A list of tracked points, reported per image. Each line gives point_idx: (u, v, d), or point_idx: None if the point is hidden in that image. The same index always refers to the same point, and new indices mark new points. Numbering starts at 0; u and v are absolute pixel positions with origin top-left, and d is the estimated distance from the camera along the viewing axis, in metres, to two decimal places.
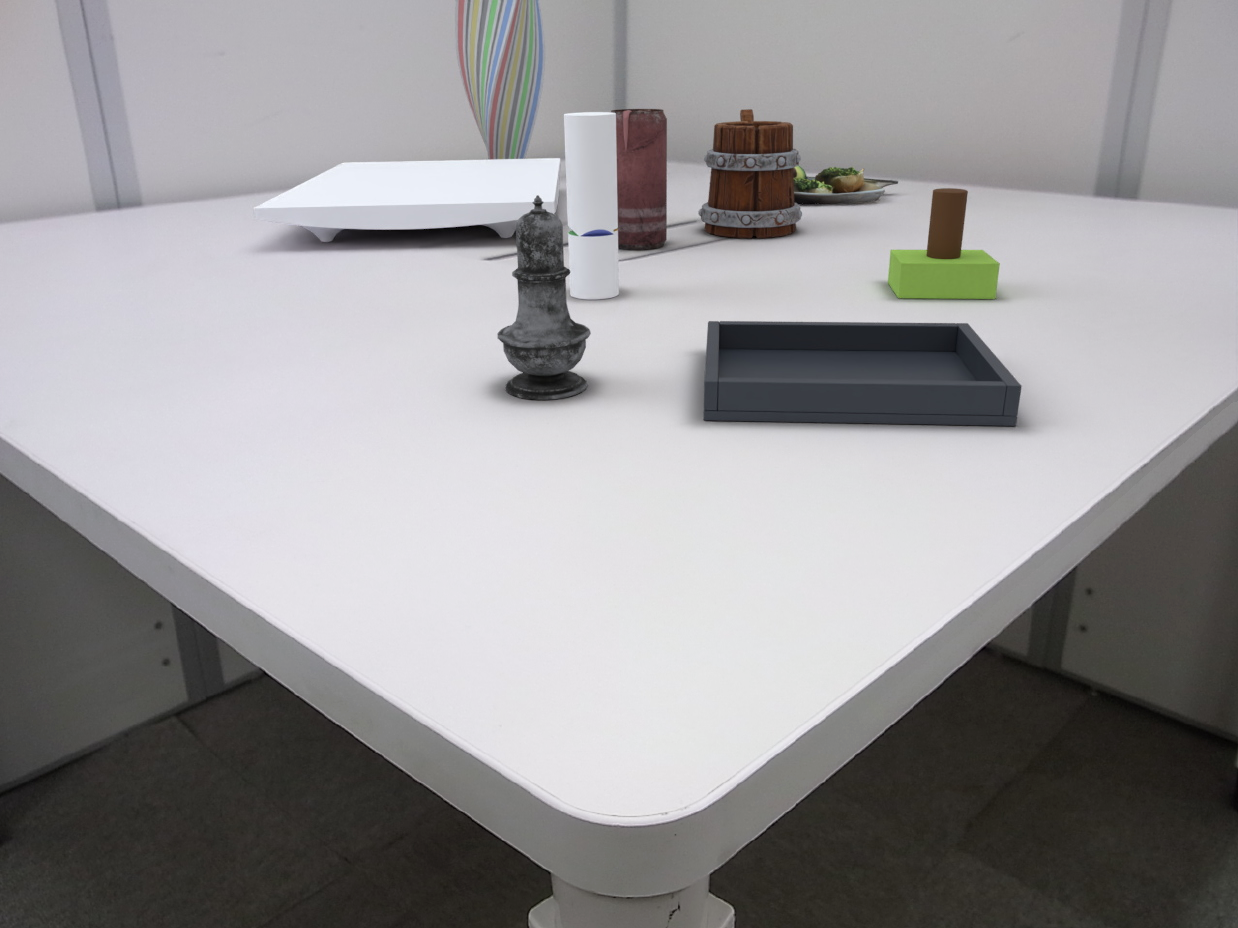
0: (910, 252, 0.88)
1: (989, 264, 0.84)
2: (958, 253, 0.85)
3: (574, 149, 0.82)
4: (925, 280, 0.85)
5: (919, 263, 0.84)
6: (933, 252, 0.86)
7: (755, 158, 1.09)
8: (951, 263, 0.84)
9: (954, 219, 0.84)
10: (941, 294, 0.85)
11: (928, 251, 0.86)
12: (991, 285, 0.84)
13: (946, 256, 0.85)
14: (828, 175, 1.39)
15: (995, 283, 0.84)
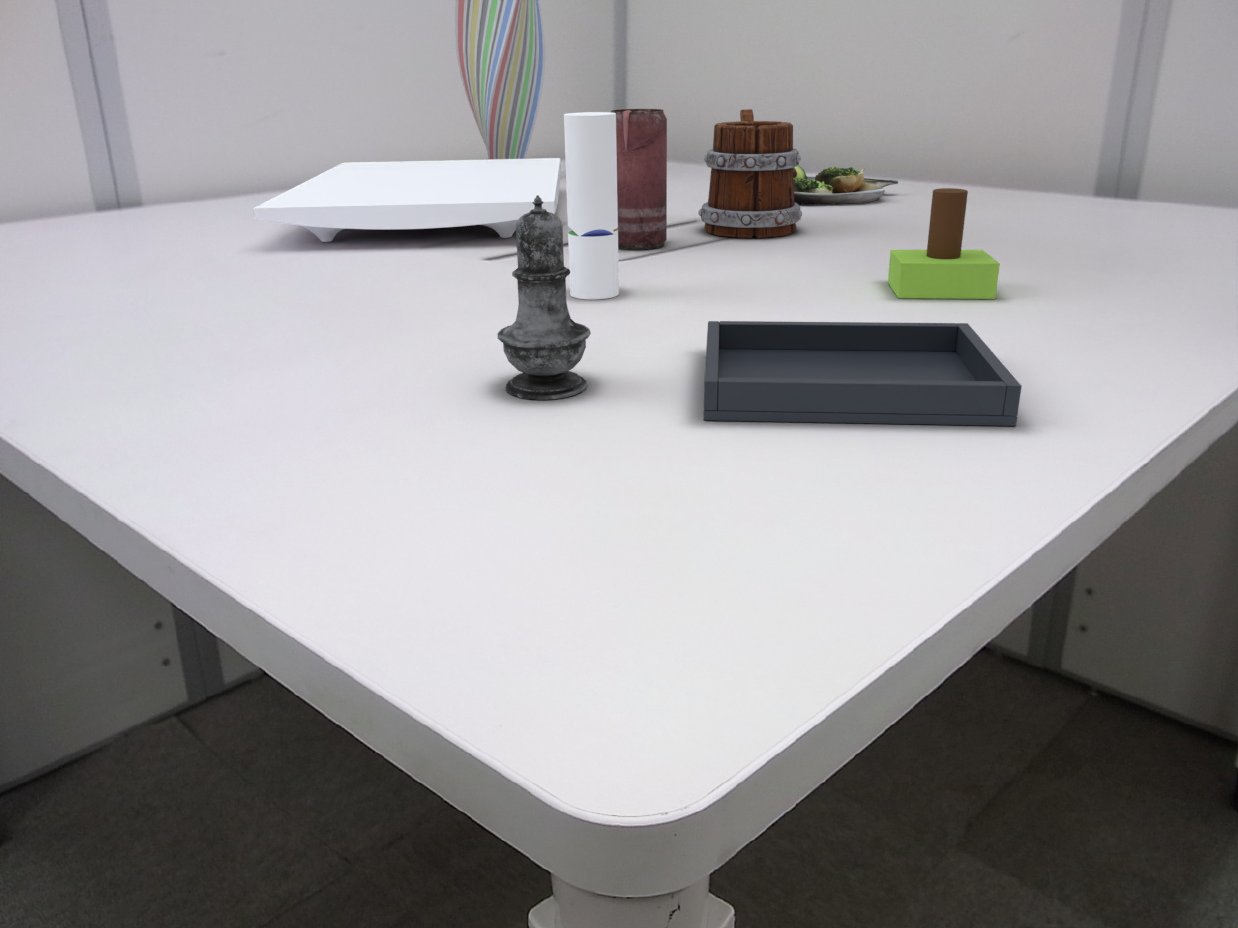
0: (910, 252, 0.88)
1: (989, 264, 0.84)
2: (958, 253, 0.85)
3: (574, 149, 0.82)
4: (925, 280, 0.85)
5: (919, 263, 0.84)
6: (933, 252, 0.86)
7: (755, 158, 1.09)
8: (951, 263, 0.84)
9: (954, 219, 0.84)
10: (941, 294, 0.85)
11: (928, 251, 0.86)
12: (991, 285, 0.84)
13: (946, 256, 0.85)
14: (828, 175, 1.39)
15: (995, 283, 0.84)
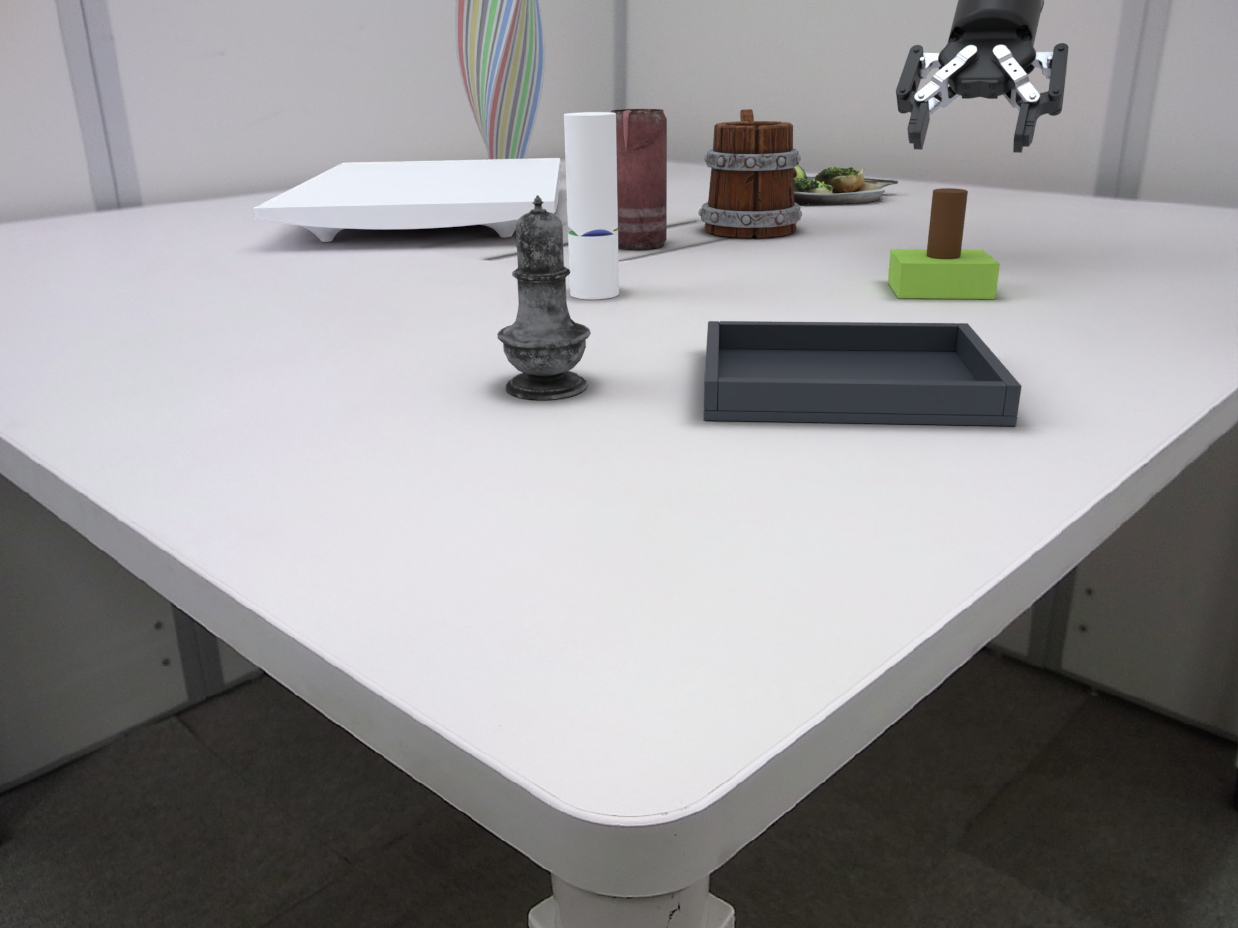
0: (910, 252, 0.88)
1: (989, 264, 0.84)
2: (958, 253, 0.85)
3: (574, 149, 0.82)
4: (925, 280, 0.85)
5: (919, 263, 0.84)
6: (933, 252, 0.86)
7: (755, 158, 1.09)
8: (951, 263, 0.84)
9: (954, 219, 0.84)
10: (941, 294, 0.85)
11: (928, 251, 0.86)
12: (991, 285, 0.84)
13: (946, 256, 0.85)
14: (829, 175, 1.39)
15: (995, 283, 0.84)
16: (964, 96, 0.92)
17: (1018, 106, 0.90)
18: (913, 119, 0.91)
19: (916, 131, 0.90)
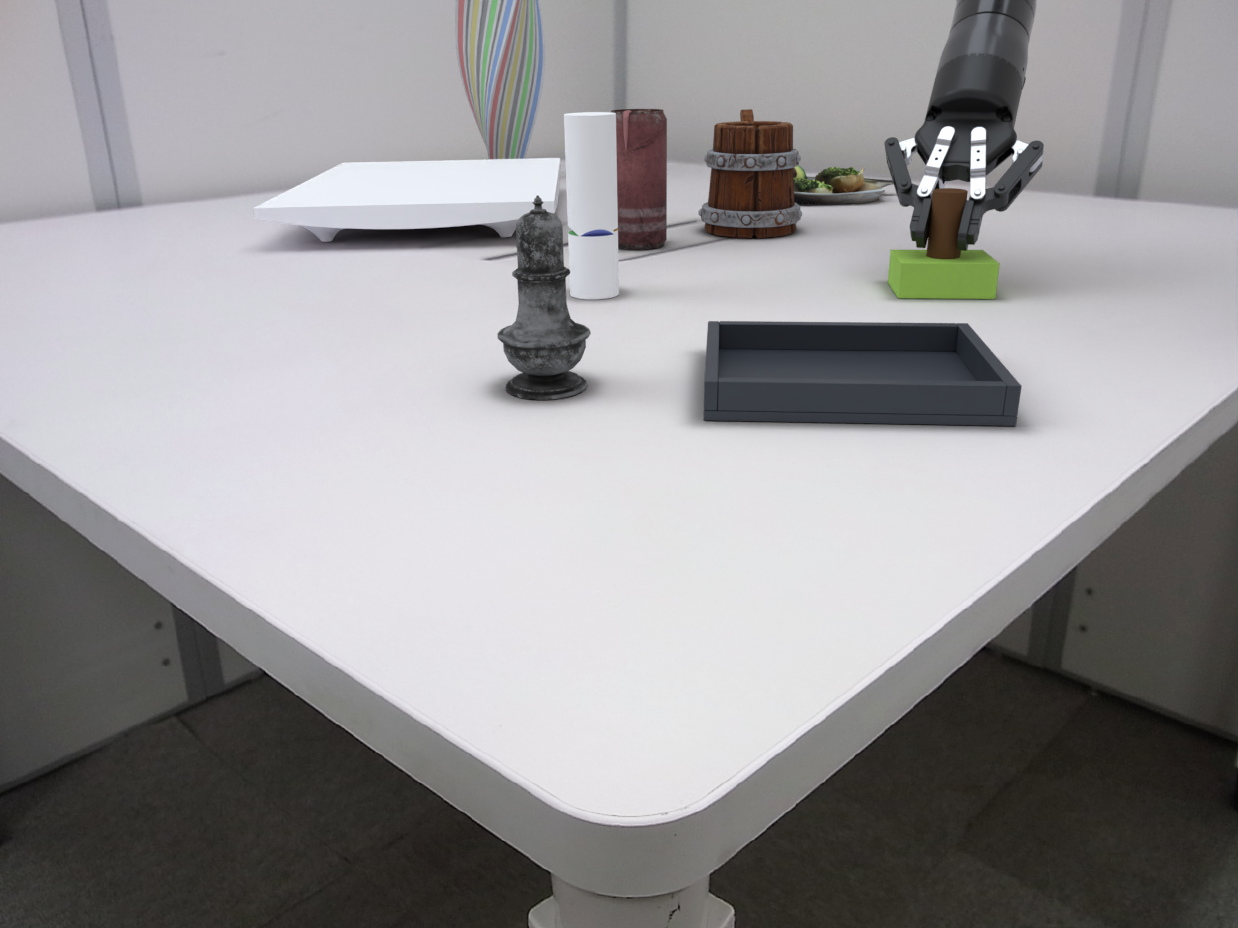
0: (910, 252, 0.88)
1: (989, 264, 0.84)
2: (958, 253, 0.85)
3: (574, 149, 0.82)
4: (925, 280, 0.85)
5: (919, 263, 0.84)
6: (933, 252, 0.86)
7: (755, 158, 1.09)
8: (951, 263, 0.84)
9: (953, 219, 0.84)
10: (941, 294, 0.85)
11: (928, 251, 0.86)
12: (991, 285, 0.84)
13: (946, 256, 0.85)
14: (829, 175, 1.39)
15: (995, 283, 0.84)
16: (942, 178, 0.88)
17: None
18: (916, 216, 0.85)
19: (919, 230, 0.84)
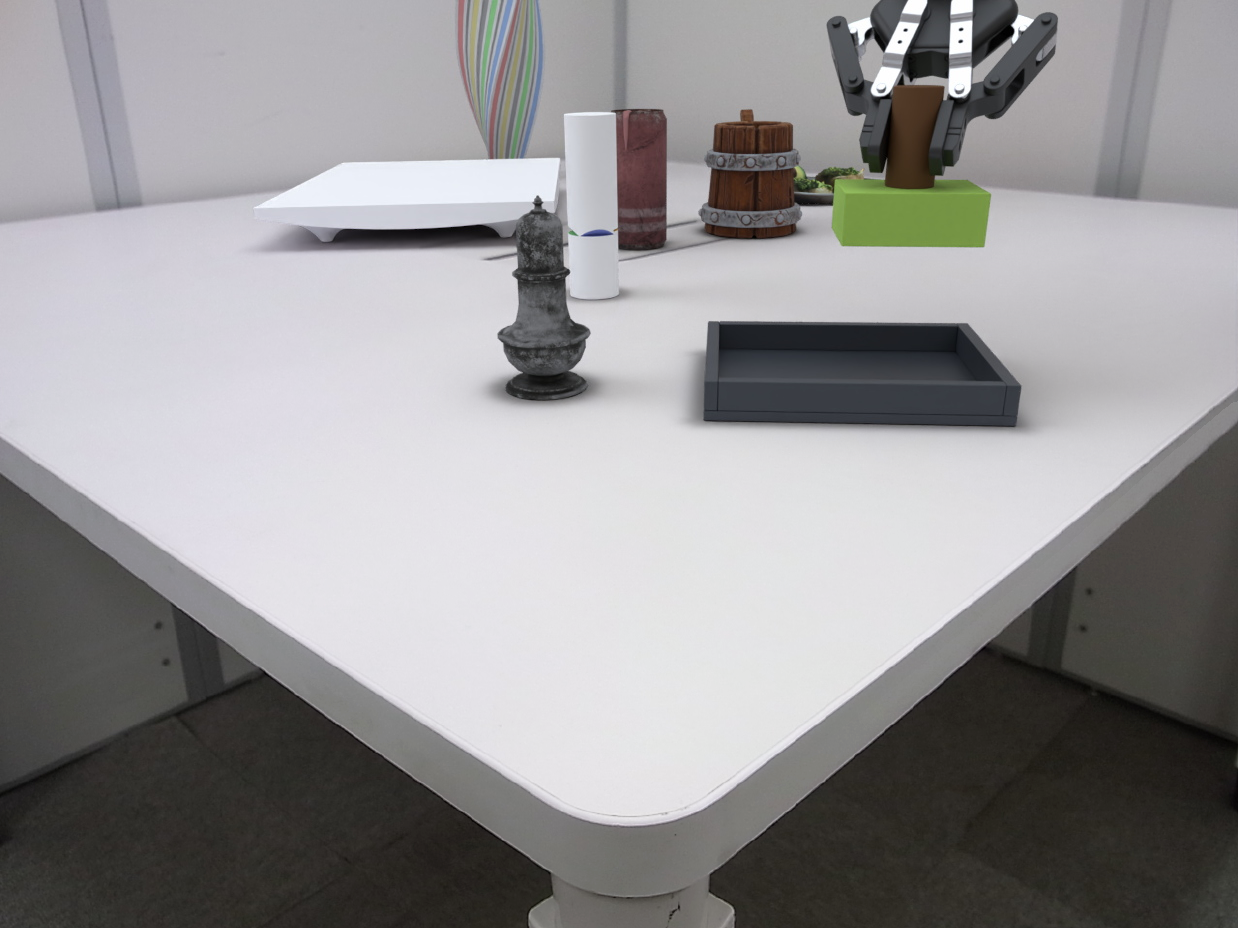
0: (862, 182, 0.61)
1: (975, 195, 0.56)
2: (930, 180, 0.58)
3: (574, 149, 0.82)
4: (880, 219, 0.57)
5: (872, 193, 0.57)
6: (894, 179, 0.58)
7: (755, 158, 1.09)
8: (919, 193, 0.57)
9: (923, 129, 0.57)
10: (905, 240, 0.57)
11: (887, 178, 0.59)
12: (978, 227, 0.57)
13: (913, 184, 0.58)
14: (829, 175, 1.39)
15: (984, 224, 0.57)
16: (909, 74, 0.60)
17: None
18: (869, 125, 0.58)
19: (872, 144, 0.57)
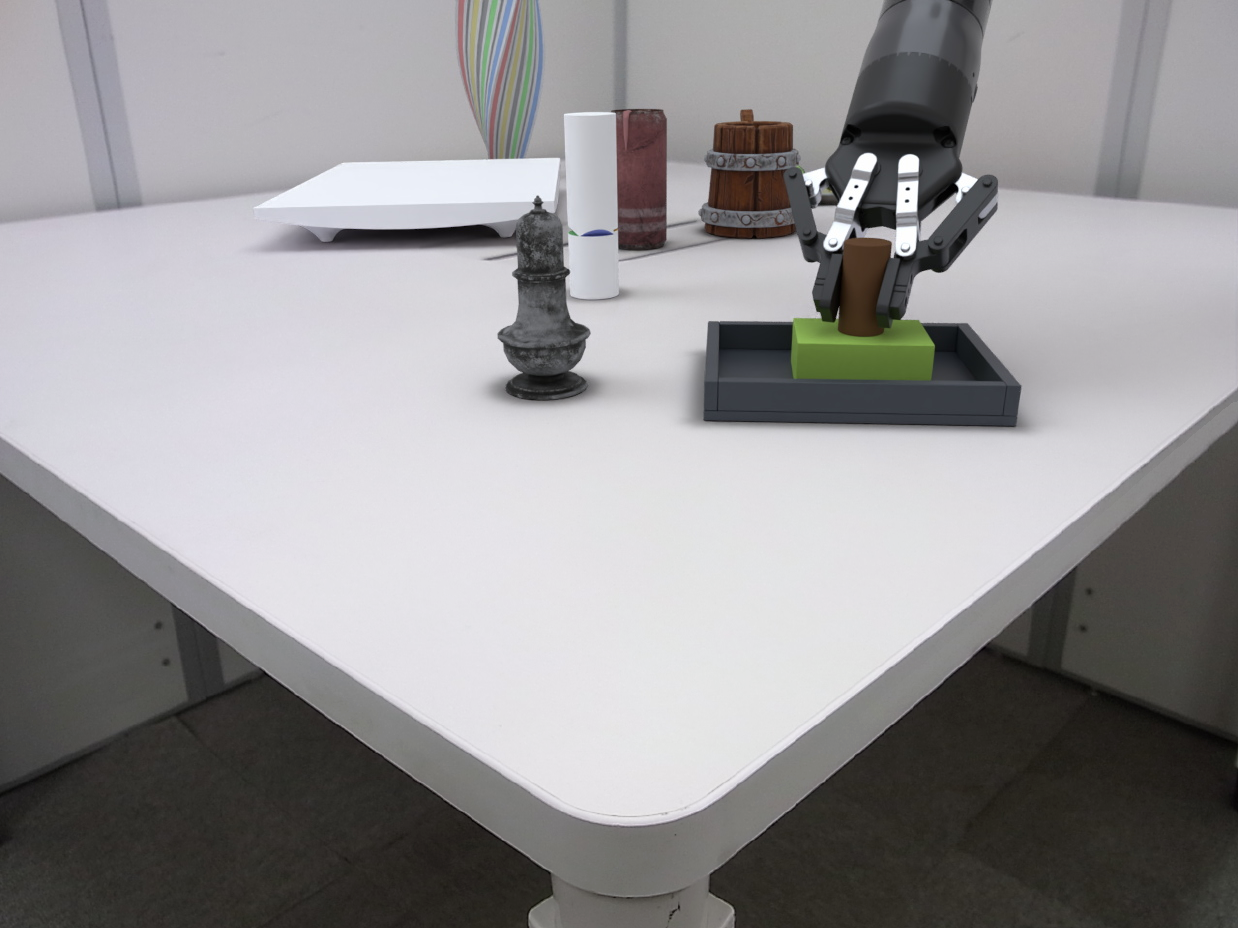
0: (818, 323, 0.64)
1: (920, 346, 0.59)
2: (879, 328, 0.61)
3: (574, 149, 0.82)
4: (831, 366, 0.61)
5: (823, 343, 0.60)
6: (845, 326, 0.62)
7: (755, 158, 1.09)
8: (867, 344, 0.60)
9: (871, 283, 0.60)
10: None
11: (839, 324, 0.62)
12: (924, 375, 0.60)
13: (862, 332, 0.61)
14: None
15: (929, 372, 0.60)
16: (861, 224, 0.64)
17: None
18: (821, 278, 0.61)
19: (824, 299, 0.60)
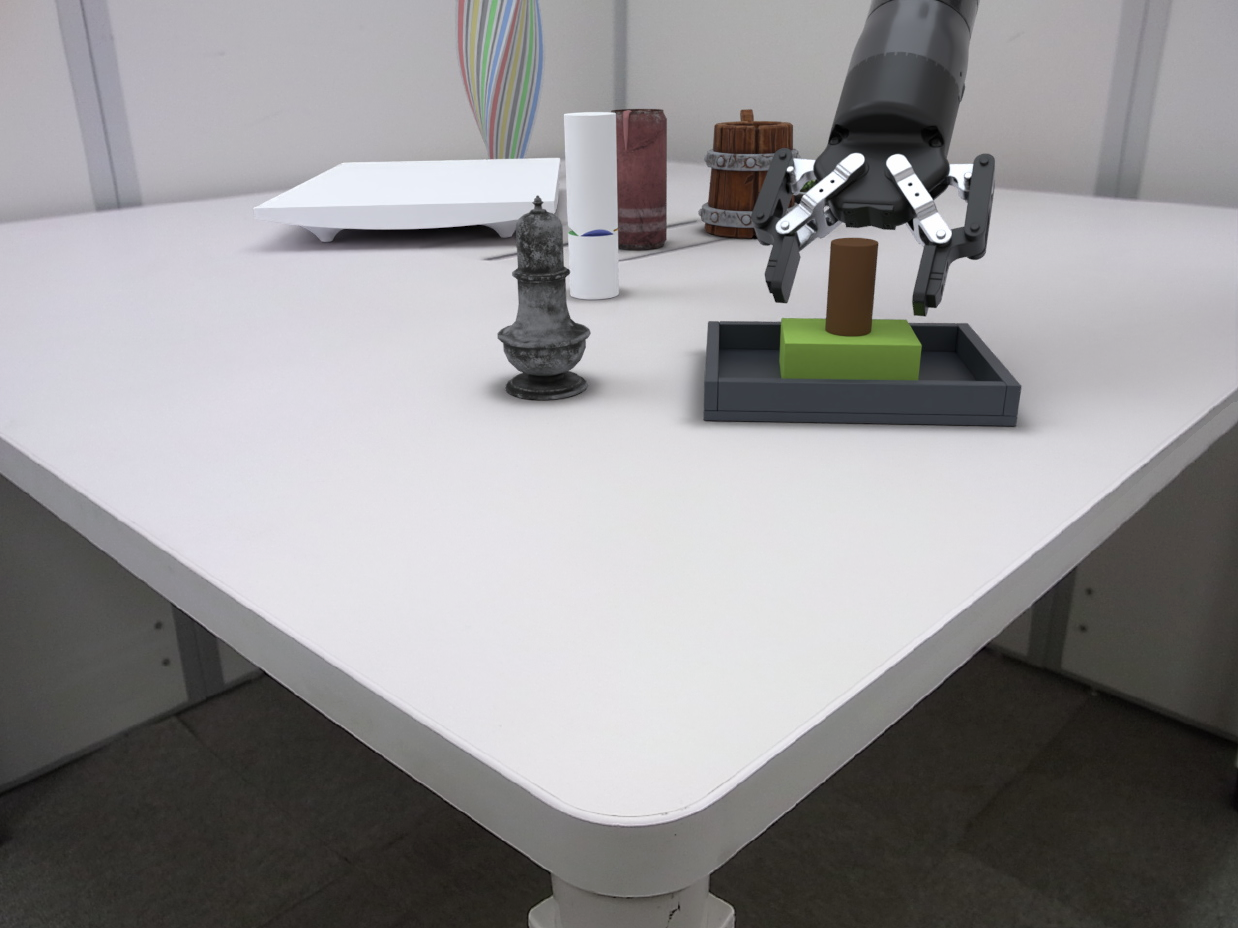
0: (805, 323, 0.64)
1: (907, 346, 0.60)
2: (867, 327, 0.62)
3: (574, 149, 0.82)
4: (818, 366, 0.61)
5: (810, 343, 0.60)
6: (832, 326, 0.62)
7: (755, 158, 1.09)
8: (854, 344, 0.60)
9: (858, 283, 0.60)
10: None
11: (826, 324, 0.62)
12: (910, 374, 0.60)
13: (850, 332, 0.61)
14: None
15: (916, 372, 0.60)
16: (850, 224, 0.64)
17: (923, 243, 0.62)
18: (773, 260, 0.63)
19: (775, 280, 0.62)
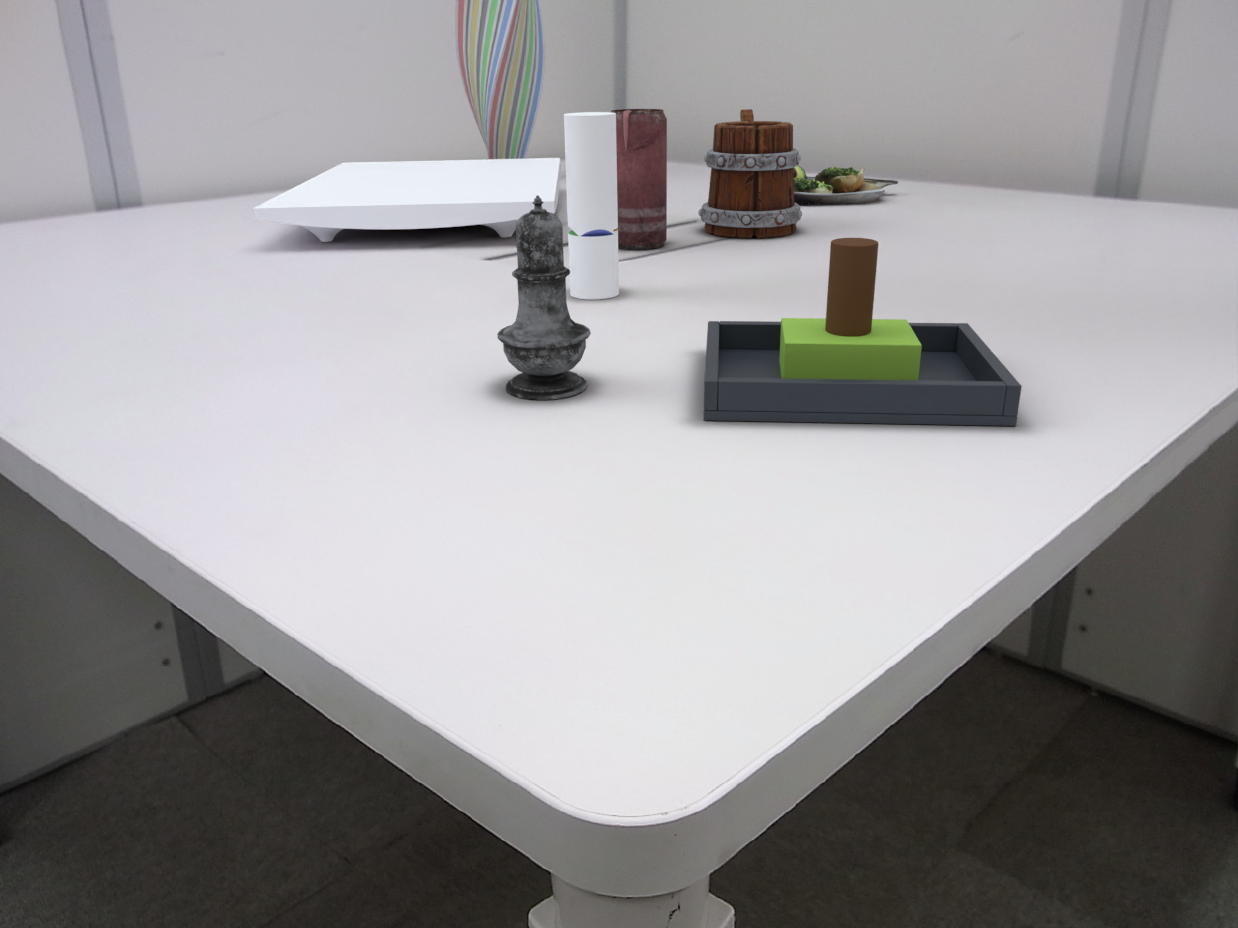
0: (805, 323, 0.64)
1: (907, 346, 0.60)
2: (867, 327, 0.62)
3: (574, 149, 0.82)
4: (818, 366, 0.61)
5: (810, 343, 0.60)
6: (832, 326, 0.62)
7: (755, 158, 1.09)
8: (854, 344, 0.60)
9: (858, 283, 0.60)
10: None
11: (826, 324, 0.62)
12: (910, 374, 0.60)
13: (850, 332, 0.61)
14: (828, 175, 1.39)
15: (916, 372, 0.60)
16: None
17: None
18: None
19: None
